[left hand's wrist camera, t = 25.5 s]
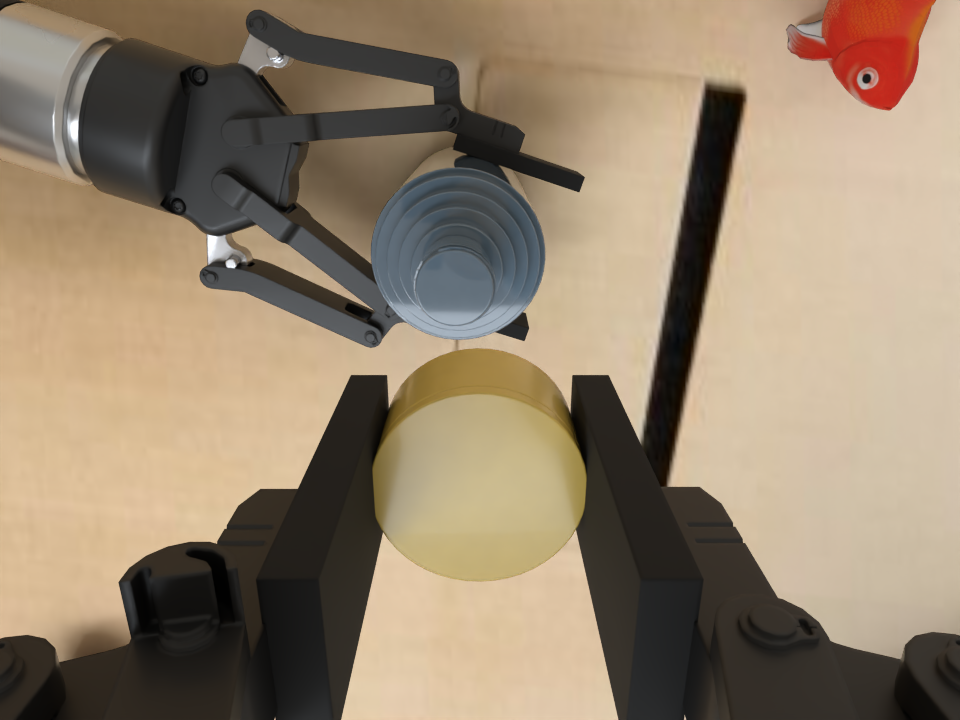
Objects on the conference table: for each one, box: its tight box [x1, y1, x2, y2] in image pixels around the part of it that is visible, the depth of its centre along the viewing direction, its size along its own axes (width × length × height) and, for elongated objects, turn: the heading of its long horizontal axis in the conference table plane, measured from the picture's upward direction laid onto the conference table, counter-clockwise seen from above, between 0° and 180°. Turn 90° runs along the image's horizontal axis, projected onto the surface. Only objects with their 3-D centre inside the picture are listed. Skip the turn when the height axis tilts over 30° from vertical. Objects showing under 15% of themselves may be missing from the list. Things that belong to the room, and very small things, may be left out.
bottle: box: [371, 147, 545, 340], centre depth 33 cm, size 7×7×19 cm
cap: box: [372, 348, 587, 581], centre depth 14 cm, size 4×4×2 cm
